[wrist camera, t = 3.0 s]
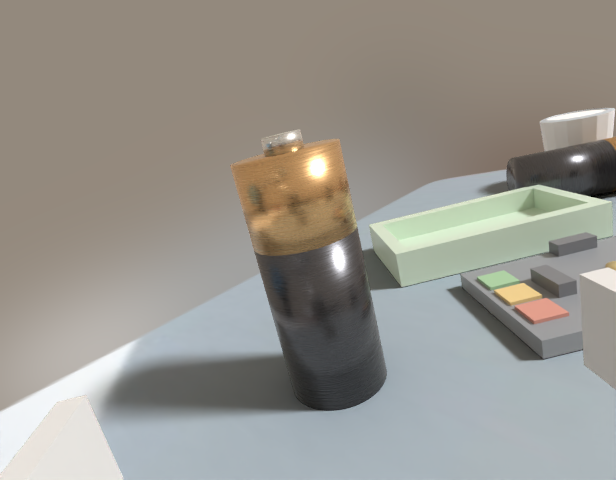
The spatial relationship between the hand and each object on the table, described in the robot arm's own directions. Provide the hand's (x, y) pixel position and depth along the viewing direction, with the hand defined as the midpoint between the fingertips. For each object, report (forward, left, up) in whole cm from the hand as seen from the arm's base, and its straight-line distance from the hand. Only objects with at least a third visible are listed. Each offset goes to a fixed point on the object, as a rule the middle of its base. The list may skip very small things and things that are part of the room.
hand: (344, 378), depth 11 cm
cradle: (+13, +14, -7) cm, 21 cm away
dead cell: (+22, +33, -7) cm, 40 cm away
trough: (+10, +25, -7) cm, 28 cm away
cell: (-2, +9, -7) cm, 12 cm away
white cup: (+25, +40, -7) cm, 48 cm away
